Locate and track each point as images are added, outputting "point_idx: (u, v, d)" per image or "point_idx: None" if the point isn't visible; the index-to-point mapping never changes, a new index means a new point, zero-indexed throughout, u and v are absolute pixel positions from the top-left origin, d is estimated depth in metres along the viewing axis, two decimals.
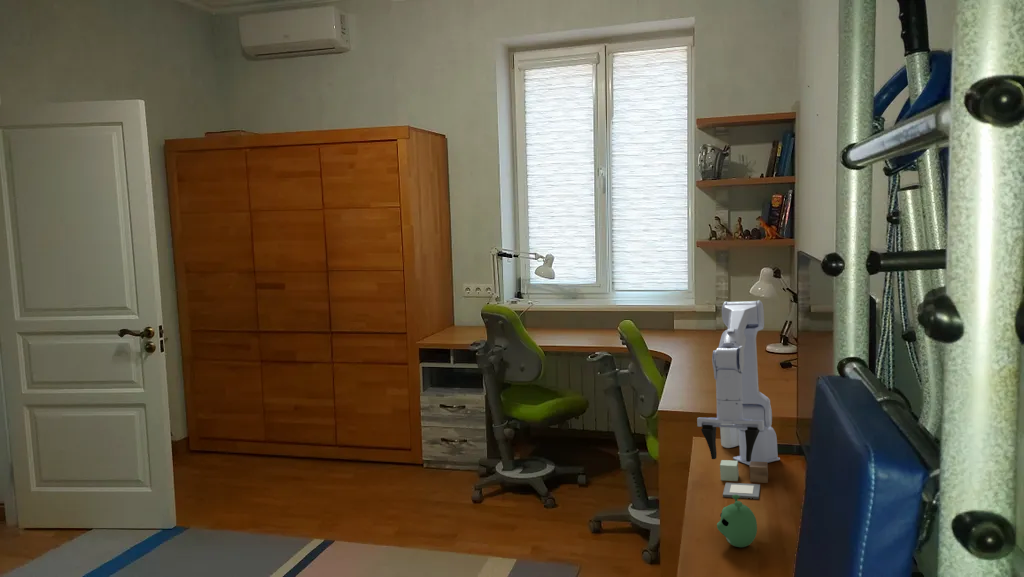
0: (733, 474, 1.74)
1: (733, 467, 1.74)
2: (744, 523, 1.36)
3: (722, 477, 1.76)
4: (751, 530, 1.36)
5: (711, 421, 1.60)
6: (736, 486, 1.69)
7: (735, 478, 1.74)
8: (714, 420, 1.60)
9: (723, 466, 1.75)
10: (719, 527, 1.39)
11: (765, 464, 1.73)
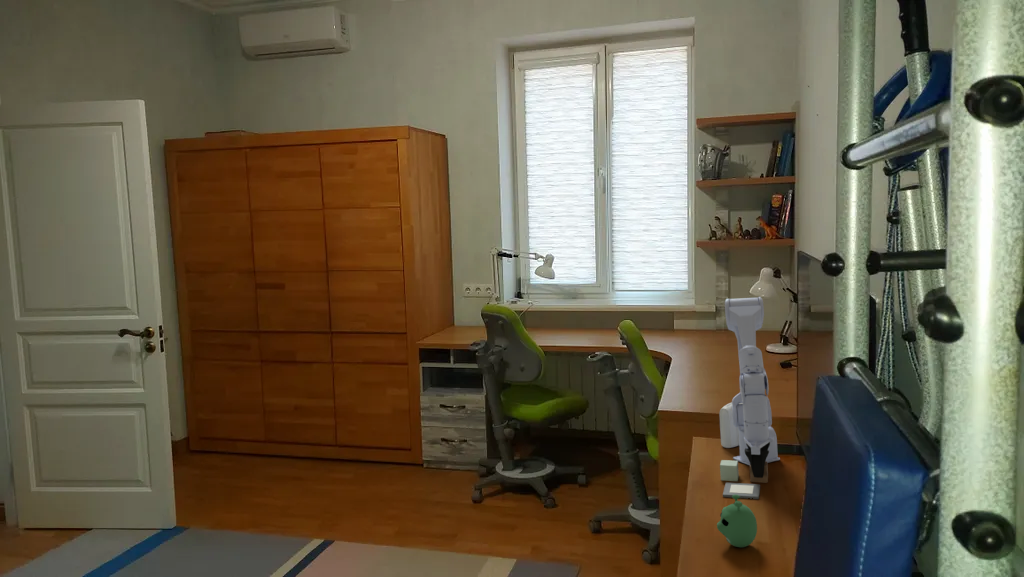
0: (733, 474, 1.74)
1: (733, 467, 1.74)
2: (744, 523, 1.36)
3: (722, 477, 1.76)
4: (751, 530, 1.36)
5: (764, 444, 1.69)
6: (736, 486, 1.69)
7: (735, 478, 1.74)
8: (765, 442, 1.70)
9: (723, 466, 1.75)
10: (719, 527, 1.39)
11: (765, 464, 1.73)
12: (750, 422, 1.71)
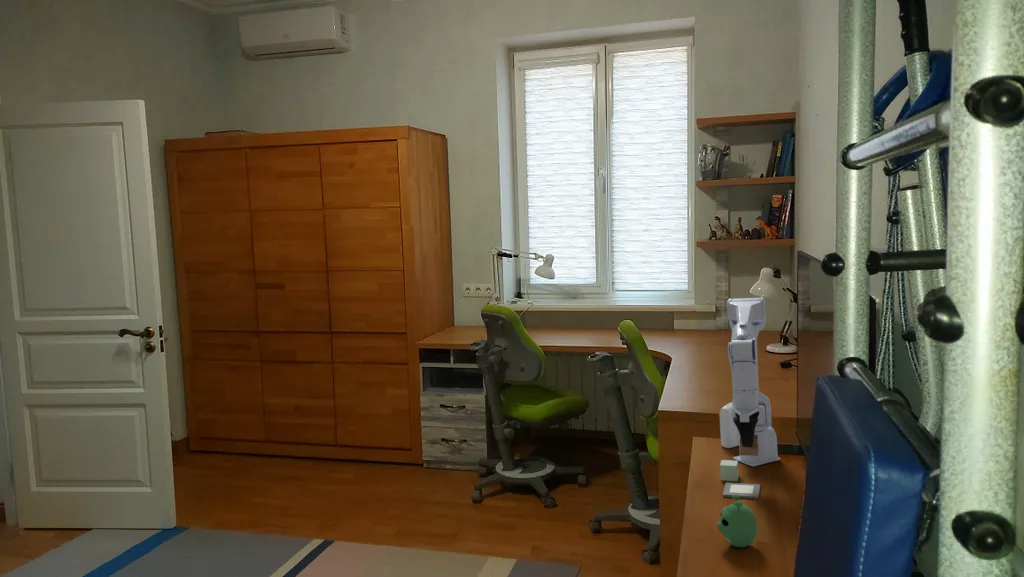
0: (733, 474, 1.74)
1: (733, 467, 1.74)
2: (744, 523, 1.36)
3: (722, 477, 1.76)
4: (751, 530, 1.36)
5: (753, 412, 1.65)
6: (736, 486, 1.69)
7: (735, 478, 1.74)
8: (754, 410, 1.66)
9: (723, 466, 1.75)
10: (719, 527, 1.39)
11: (755, 436, 1.69)
12: (737, 389, 1.67)
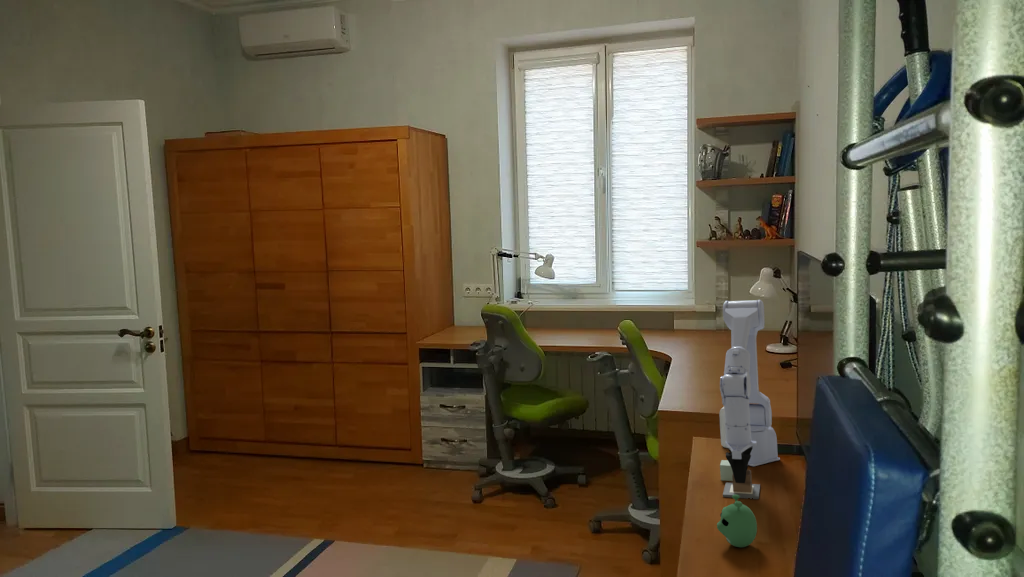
0: None
1: None
2: (744, 523, 1.36)
3: (722, 477, 1.76)
4: (751, 530, 1.36)
5: (745, 448, 1.62)
6: None
7: None
8: (747, 446, 1.63)
9: (723, 466, 1.75)
10: (719, 527, 1.39)
11: (749, 472, 1.66)
12: (729, 425, 1.64)
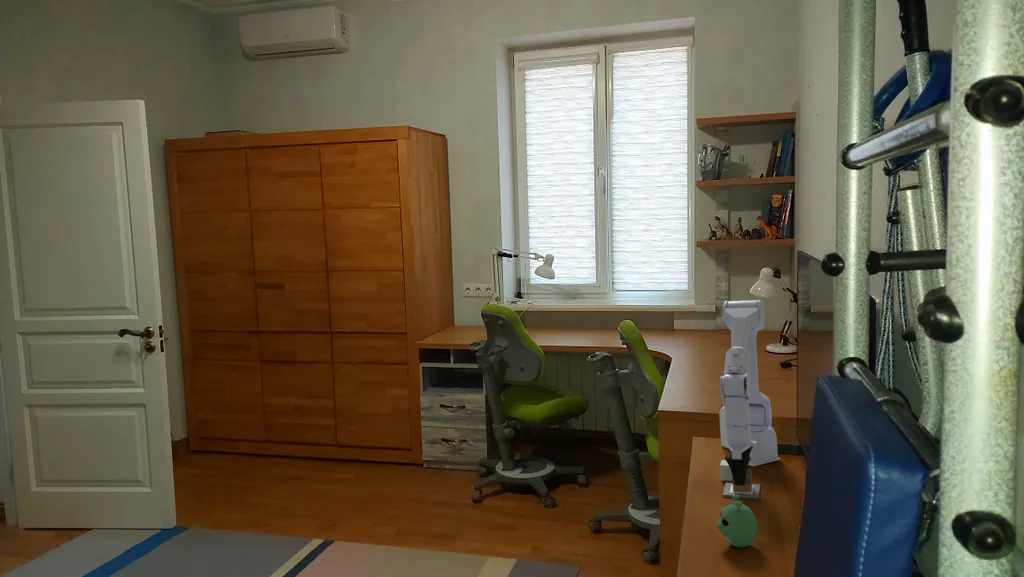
0: None
1: None
2: (744, 523, 1.36)
3: (722, 477, 1.76)
4: (751, 530, 1.36)
5: (745, 449, 1.62)
6: None
7: None
8: (747, 446, 1.63)
9: (723, 466, 1.75)
10: (719, 527, 1.39)
11: (749, 472, 1.66)
12: (729, 425, 1.64)
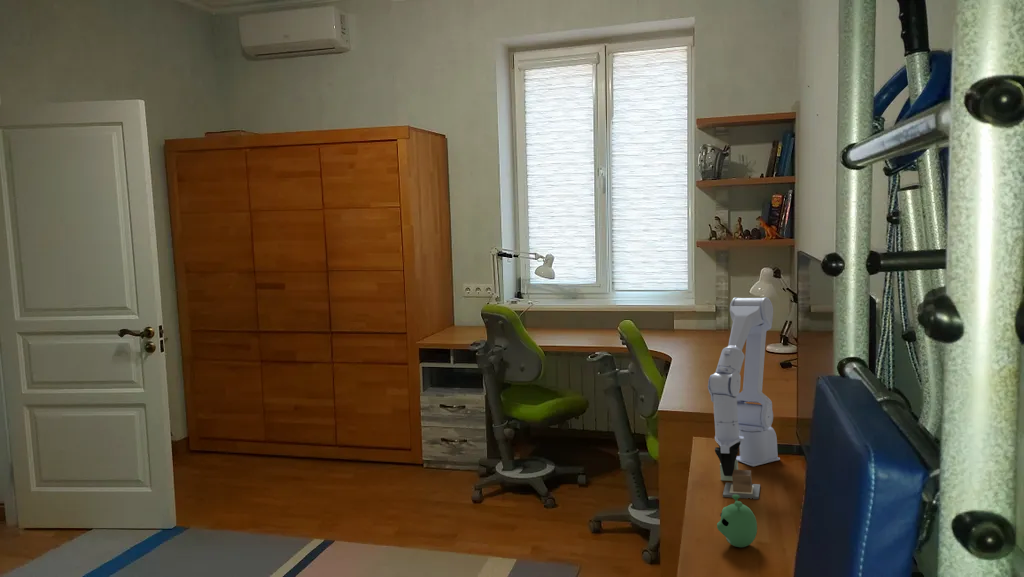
0: None
1: None
2: (744, 523, 1.36)
3: (722, 477, 1.76)
4: (751, 530, 1.36)
5: (733, 443, 1.72)
6: None
7: None
8: (735, 441, 1.73)
9: None
10: (719, 527, 1.39)
11: (749, 472, 1.66)
12: (716, 420, 1.75)
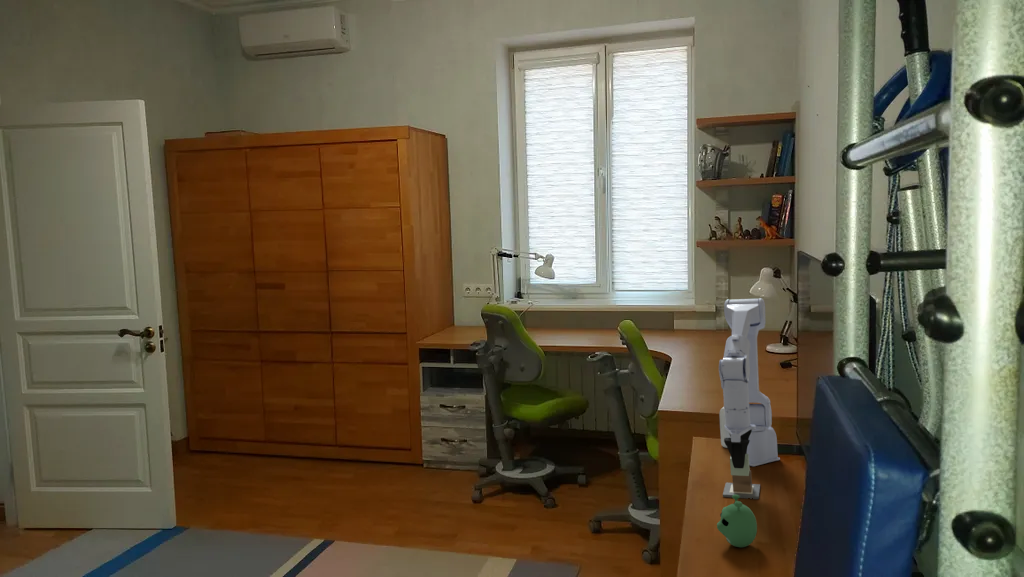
0: (744, 468, 1.64)
1: None
2: (744, 523, 1.36)
3: (732, 471, 1.66)
4: (751, 530, 1.36)
5: (744, 432, 1.62)
6: None
7: (746, 472, 1.64)
8: (746, 430, 1.62)
9: None
10: (719, 527, 1.39)
11: (749, 472, 1.66)
12: (728, 408, 1.64)
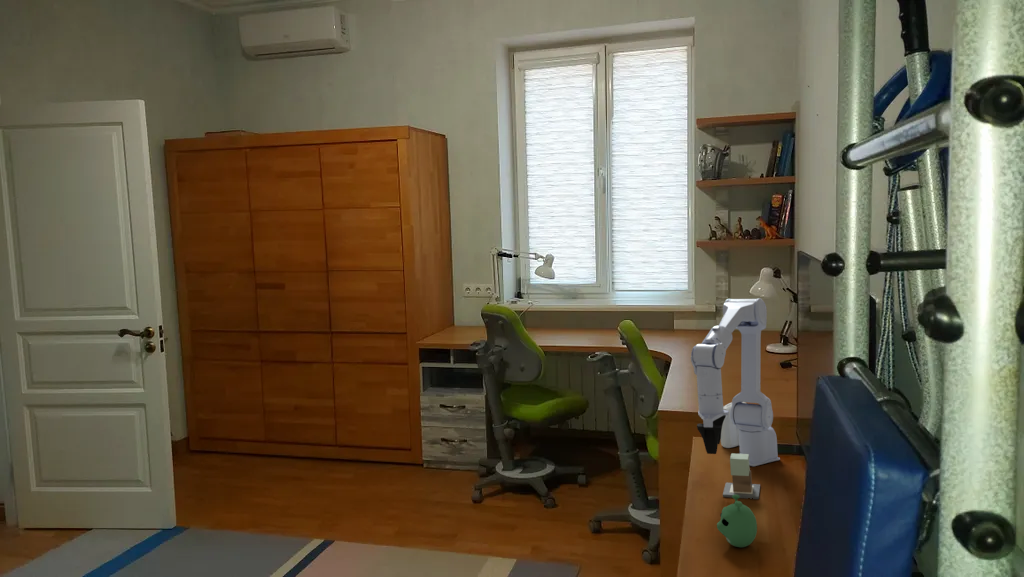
0: (744, 468, 1.64)
1: (744, 461, 1.64)
2: (744, 523, 1.36)
3: (732, 471, 1.66)
4: (751, 530, 1.36)
5: (717, 417, 1.64)
6: None
7: (746, 472, 1.64)
8: (718, 415, 1.64)
9: (733, 460, 1.65)
10: (719, 527, 1.39)
11: (749, 472, 1.66)
12: (699, 394, 1.67)
